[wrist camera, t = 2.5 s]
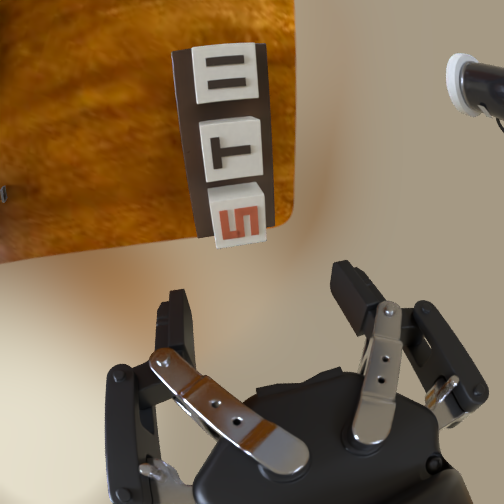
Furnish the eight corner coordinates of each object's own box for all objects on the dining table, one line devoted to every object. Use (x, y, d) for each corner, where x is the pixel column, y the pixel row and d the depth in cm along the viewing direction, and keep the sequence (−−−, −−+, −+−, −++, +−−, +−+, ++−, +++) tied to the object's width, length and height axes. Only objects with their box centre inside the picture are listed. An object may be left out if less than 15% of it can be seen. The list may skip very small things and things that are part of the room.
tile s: (256, 181, 22) (264, 194, 19) (258, 224, 24) (267, 242, 22) (207, 188, 21) (209, 203, 19) (213, 231, 24) (216, 250, 21)
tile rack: (247, 56, 22) (266, 43, 16) (256, 194, 31) (275, 226, 25) (178, 63, 21) (171, 51, 15) (196, 203, 30) (197, 238, 24)
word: (246, 49, 16) (255, 42, 13) (255, 164, 21) (263, 175, 19) (192, 54, 15) (191, 47, 13) (205, 170, 21) (206, 183, 18)
